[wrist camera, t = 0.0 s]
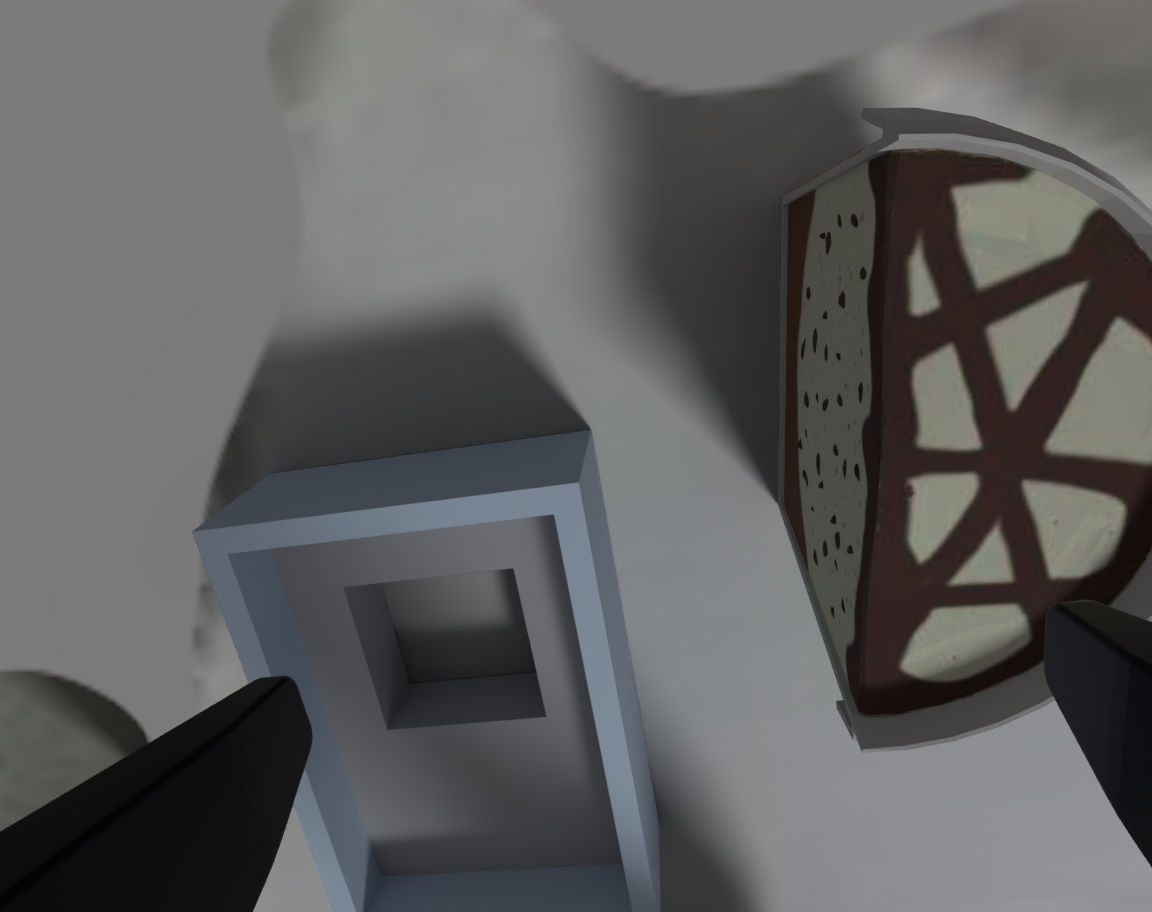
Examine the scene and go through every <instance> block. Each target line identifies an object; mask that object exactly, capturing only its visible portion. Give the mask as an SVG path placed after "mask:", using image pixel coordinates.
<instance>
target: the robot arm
mask: <svg viewBox="0 0 1152 912" xmlns="http://www.w3.org/2000/svg"><path fill="white" fill-rule="evenodd" d="M1044 673H1045V678H1046V681H1047V684H1048V687H1049V689H1050V691H1051V693H1052V695H1053V697H1054V699H1055V700H1056V702H1057V704H1058V706H1059V708H1060V710H1061V712H1062V714H1063V715H1064V717H1065V719H1066V721H1067V723H1068V725H1069V727H1070V729H1071V731H1072V732H1073V734H1074V736H1075V738H1076V740H1077V742H1078V744H1079V746H1080V747H1081V749H1082V751H1083V753H1084V755H1085V757H1086V759H1087V761H1088V762H1089V764H1090V766H1091V768H1092V770H1093V772H1094V774H1095V776H1096V778H1097V779H1098V781H1099V783H1100V785H1101V787H1102V789H1103V791H1104V793H1105V794H1106V796H1107V798H1108V800H1109V801H1110V803H1111V805H1112V807H1113V808H1114V810H1115V812H1116V814H1117V815H1118V817H1119V819H1120V820H1121V822H1122V823H1123V825H1124V826H1125V828H1126V829H1127V831H1128V833H1129V834H1130V836H1131V837H1132V839H1133V840H1134V842H1135V843H1136V845H1137V846H1138V848H1139V849H1140V851H1141V852H1142V854H1143V855H1144V857H1145V858H1146V859H1147V861H1148V862H1149V864H1150V865H1151V867H1152V622H1151V621H1148V620H1145V619H1143V618H1140V617H1137V616H1134V615H1132V614H1129V613H1126V612H1124V611H1121V610H1118V609H1115V608H1113V607H1110V606H1107V605H1105V604H1102V603H1099V602H1096V601H1093V600H1078V601H1068V602H1058V603H1054V604H1052V605H1051V606H1050V607H1049V608H1048V610H1047V613H1046V621H1045V646H1044ZM312 741H313V733H312V727H311V723H310V720H309V717H308V715H307V712H306V709H305V706H304V703H303V700H302V697H301V694H300V692H299V689H298V686H297V684H296V682H295V681H294V679H293V678H291V677H289V676H286V675H285V676H273V677H262V678H259V679H256V680H254V681H253V682H251V683H249V684H247V685H246V686H244V687H242V688H241V689H239V690H237V691H236V692H234V693H232V694H231V695H229V696H227V697H226V698H224V699H222V700H221V701H219V702H217V703H216V704H214V705H212V706H211V707H209V708H207V709H205V710H204V711H202V712H200V713H199V714H197V715H195V716H194V717H192V718H190V719H189V720H187V721H185V722H184V723H182V724H180V725H179V726H177V727H175V728H174V729H172V730H170V731H168V732H167V733H165V734H163V735H162V736H160V737H159V738H157V739H155V740H153V741H152V742H150V743H148V744H147V745H145V746H143V747H142V748H140V749H138V750H137V751H135V752H133V753H132V754H130V755H128V756H126V757H125V758H123V759H121V760H120V761H118V762H116V763H115V764H113V765H111V766H110V767H108V768H106V769H105V770H103V771H101V772H100V773H98V774H96V775H95V776H93V777H91V778H89V779H88V780H86V781H84V782H83V783H81V784H79V785H78V786H76V787H74V788H73V789H71V790H69V791H68V792H66V793H64V794H63V795H61V796H59V797H58V798H56V799H54V800H52V801H51V802H49V803H47V804H46V805H44V806H42V807H41V808H39V809H37V810H36V811H34V812H32V813H31V814H29V815H27V816H26V817H24V818H22V819H21V820H19V821H17V822H16V823H14V824H12V825H10V826H9V827H7V828H5V829H4V830H2V831H0V912H253V910H254V908H255V906H256V903H257V901H258V899H259V896H260V894H261V892H262V890H263V887H264V885H265V883H266V880H267V878H268V875H269V873H270V870H271V868H272V865H273V863H274V860H275V857H276V854H277V852H278V849H279V846H280V843H281V840H282V837H283V834H284V831H285V828H286V825H287V822H288V819H289V816H290V812H291V809H292V806H293V803H294V800H295V797H296V794H297V791H298V788H299V785H300V782H301V778H302V775H303V772H304V769H305V766H306V763H307V760H308V757H309V754H310V751H311V747H312Z"/></svg>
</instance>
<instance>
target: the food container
mask: <svg viewBox="0 0 1152 912" xmlns="http://www.w3.org/2000/svg"><path fill="white" fill-rule="evenodd" d="M862 119H864V120H866V121H868V122H870V123H872V124H874V125H876V126H878V127H879V128H881V129H883V136H882V138H881V139H879V140H878V141H876V142H874V143H872V144H871V145H869V146H867V147H866V148H864V149H862V150H861V151H859V152H857V153H855V154H854V155H852V156H850V157H849V158H847V159H845V160H844V161H842V162H840V163H838V164H837V165H835V166H833V167H832V168H830V169H828V170H827V171H825V172H823V173H822V174H820V175H818V176H816V177H815V178H813V179H811V180H810V181H808V182H806V183H805V184H803V185H801V186H799V187H798V188H796V189H794V190H793V191H791V192H789V193H788V194H786V195H784V196H782V228H781V317H780V406H779V495H778V506H779V509H780V512H781V515H782V518H783V521H784V524H785V527H786V530H787V533H788V536H789V539H790V542H791V545H792V548H793V551H794V554H795V557H796V560H797V563H798V566H799V569H800V572H801V575H802V578H803V581H804V584H805V586H806V589H807V592H808V595H809V598H810V601H811V604H812V607H813V610H814V613H815V616H816V619H817V622H818V625H819V628H820V631H821V634H822V637H823V640H824V643H825V646H826V649H827V652H828V655H829V658H830V661H831V664H832V667H833V670H834V673H835V676H836V679H837V682H838V685H839V688H840V691H841V694H842V697H843V700H840V701H836V702H837V710H838V712H839V713H840V715H841V717H842V719H843V721H844V723H845V725H846V727H847V729H848V731H849V733H850V735H851V737H852V739H853V740H857V741H858V743H859V746H860V748H861V751H862V753H865V752H881V751H896V750H908V749H914V748H919V747H924V746H930V745H935V744H941V743H946V742H951V741H955V740H959V739H962V738H965V737H968V736H971V735H974V734H978V733H981V732H984V731H987V730H990V729H994V728H997V727H1000V726H1002V725H1004V724H1007V723H1009V722H1011V721H1013V720H1015V719H1018V718H1020V717H1022V716H1024V715H1026V714H1029V713H1031V712H1033V711H1035V710H1038V709H1040V708H1042V707H1044V706H1046V705H1048V704H1049V703H1051V702H1053V701H1054V700H1055V699H1054V697H1053V695H1052V693H1051V691H1050V689H1049V687H1048V684H1047V681H1046V678H1045V673H1044V646H1045V621H1046V613H1047V610H1048V608H1049V607H1050V606H1051V605H1052V604H1054V603H1058V602H1068V601H1078V600H1093V601H1096V602H1099V603H1102V604H1105V605H1107V606H1110V607H1113V608H1115V609H1118V610H1121V611H1124V612H1126V613H1129V614H1132V615H1134V616H1137V617H1140V618H1143V619H1145V620H1148V621H1151V622H1152V210H1151V209H1150V208H1148V207H1147V206H1146V205H1145V204H1144V203H1143V202H1142V201H1140V200H1139V199H1138V198H1137V197H1136V196H1135V195H1134V194H1132V193H1131V192H1130V191H1129V190H1128V189H1127V188H1126V187H1125V186H1123V185H1122V184H1121V183H1120V182H1119V181H1118V180H1117V179H1115V178H1114V177H1113V176H1111V175H1109V174H1107V173H1106V172H1104V171H1102V170H1100V169H1099V168H1097V167H1095V166H1094V165H1092V164H1090V163H1088V162H1087V161H1085V160H1083V159H1082V158H1080V157H1078V156H1076V155H1075V154H1073V153H1071V152H1070V151H1068V150H1066V149H1064V148H1062V147H1059V146H1056V145H1054V144H1051V143H1048V142H1045V141H1043V140H1040V139H1037V138H1034V137H1032V136H1029V135H1026V134H1023V133H1020V132H1017V131H1014V130H1011V129H1009V128H1006V127H1003V126H1000V125H997V124H994V123H991V122H988V121H985V120H982V119H979V118H977V117H972V116H966V115H960V114H953V113H947V112H940V111H934V110H927V109H921V108H864V109H863V113H862Z"/></svg>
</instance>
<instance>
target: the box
mask: <svg viewBox="0 0 1152 912" xmlns="http://www.w3.org/2000/svg"><path fill="white" fill-rule="evenodd" d="M192 533H193V535H194V538H195V541H196V543H197V546H198V549H199V551H200V554H201V557H202V560H203V562H204V565H205V568H206V570H207V573H208V576H209V578H210V581H211V584H212V586H213V589H214V592H215V594H216V597H217V600H218V602H219V605H220V608H221V610H222V613H223V616H224V619H225V621H226V624H227V627H228V629H229V632H230V635H231V637H232V640H233V643H234V645H235V648H236V651H237V653H238V656H239V659H240V661H241V664H242V667H243V670H244V672H245V675H246V678H247V680H248V683H251V682H253V681H254V680H256V679H259V678H262V677H273V676H285V675H286V676H289V677H291V678H293V679H294V681H295V682H296V684H297V686H298V689H299V692H300V694H301V697H302V700H303V703H304V706H305V709H306V712H307V715H308V717H309V720H310V723H311V727H312V733H313V741H312V747H311V751H310V754H309V757H308V760H307V763H306V766H305V769H304V772H303V775H302V778H301V782H300V785H299V788H298V791H297V794H296V797H295V800H294V803H293V804H294V806H295V809H296V812H297V814H298V817H299V820H300V822H301V825H302V828H303V830H304V833H305V836H306V839H307V841H308V844H309V847H310V849H311V852H312V855H313V857H314V860H315V863H316V865H317V868H318V871H319V873H320V876H321V879H322V881H323V884H324V887H325V889H326V892H327V895H328V898H329V900H330V903H331V906H332V908H333V911H334V912H661V901H660V846H659V819H658V813H657V808H656V802H655V796H654V790H653V784H652V779H651V773H650V767H649V761H648V755H647V750H646V744H645V738H644V732H643V727H642V721H641V715H640V709H639V703H638V698H637V692H636V686H635V680H634V674H633V669H632V663H631V657H630V651H629V646H628V640H627V634H626V628H625V622H624V617H623V611H622V605H621V599H620V593H619V588H618V582H617V576H616V570H615V565H614V559H613V553H612V547H611V541H610V536H609V530H608V524H607V518H606V512H605V507H604V501H603V495H602V489H601V484H600V478H599V472H598V466H597V460H596V455H595V449H594V443H593V437H592V431H591V430H585V431H578V432H570V433H563V434H556V435H548V436H541V437H534V438H527V439H519V440H512V441H505V442H497V443H490V444H483V445H476V446H468V447H461V448H454V449H446V450H439V451H432V452H425V453H417V454H410V455H403V456H395V457H388V458H381V459H374V460H366V461H359V462H352V463H344V464H337V465H330V466H323V467H315V468H308V469H301V470H293V471H286V472H279V473H272V474H268V475H267V476H266V477H264V478H263V479H262V480H260V481H259V482H258V483H256V484H255V485H254V486H252V487H251V488H250V489H248V490H247V491H246V492H244V493H243V494H242V495H240V496H239V497H238V498H236V499H235V500H234V501H232V502H231V503H230V504H228V505H227V506H226V507H224V508H223V509H222V510H220V511H219V512H218V513H216V514H215V515H214V516H212V517H211V518H210V519H208V520H207V521H206V522H204V523H203V524H202V525H200V526H199V527H198V528H196V529H195V530H194V531H192ZM511 568H513V569H514V573H515V578H516V582H517V587H518V591H519V595H520V600H521V604H522V609H523V613H524V618H525V622H526V627H527V631H528V636H529V640H530V645H531V649H532V654H533V658H534V663H535V667H536V672H533V673H522V674H511V675H500V676H489V677H478V678H467V679H456V680H445V681H434V682H423V683H412V684H410V683H409V679H408V676H407V672H406V669H405V665H404V662H403V658H402V655H401V652H400V648H399V645H398V641H397V638H396V634H395V631H394V627H393V624H392V620H391V617H390V614H389V610H388V607H387V603H386V600H385V596H384V593H383V589H382V586H381V583H386V582H395V581H404V580H413V579H422V578H430V577H439V576H448V575H457V574H466V573H475V572H484V571H493V570H502V569H511Z"/></svg>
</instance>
